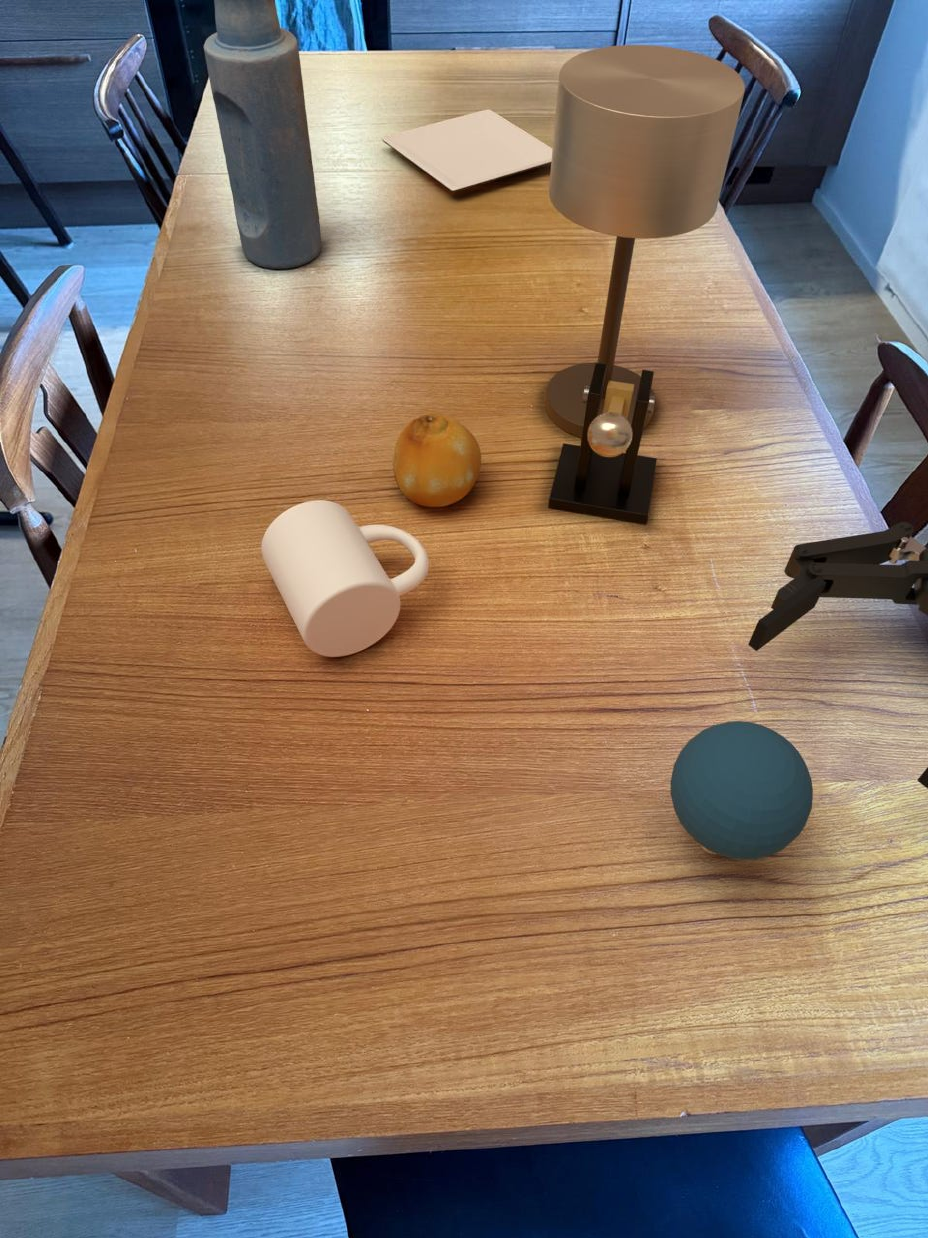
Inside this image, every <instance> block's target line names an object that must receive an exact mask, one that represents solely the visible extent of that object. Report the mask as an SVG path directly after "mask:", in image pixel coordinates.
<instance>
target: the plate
mask: <svg viewBox="0 0 928 1238" xmlns="http://www.w3.org/2000/svg"><path fill="white" fill-rule="evenodd" d="M381 141H382V142H383V143H384V144H386V145H387V146H388V147H390V148H391V149H392V150H393V151H395V152H397V153H398V154H399V155H400V156H402V157H403V158H405V160H407V161H409V162H410V163H412V164H413V165H414V166H416V167H417V168H418V169H420V170H421V171H422V172H423V173H424V174H427V175H428V176H429V177H431V178H432V179H433V180H434V181H436V182H437V183H439V184H440V185H442V186H443V187H444V188H445V189H447V190H448V191H449V192H451V193H458V192H460V191H464V190H468V189H471V188H474V187H479V186H482V185H484V184H488V183H491V182H494V181H498V180H501V179H504V178H505V179H506V178H507V177H511V176H514V175H518V174H521V173H525V172H528V171H531V170H535V169H538V168H541V167H545V166H548V165H551V161H552V150H553V147H551V146H549V145H547V144H546V143H544V142H542V141H541V140H540V139H537V138H536V137H535V136H533V135H531V134H530V133H528V132H526V131H525V130H523V129H522V128H520V127H519V126H517V125H515V124H514V123H513V122H511V121H509V120H507V119H505V118H504V117H502V116H501V115H499V114H498V113H496V112H495V111H492V110H491V109H488V108H487V109H483V110H480V111H475V112H471V113H468V114H464V115H461V116H457V117H453V118H449V119H445V120H441V121H438V122H433V123H430V124H425V125H422V126H419V127H414V128H410V129H407V130H403V131H400V132H395V133H392V134H388V135H385V136H383V137H381Z"/></svg>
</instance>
